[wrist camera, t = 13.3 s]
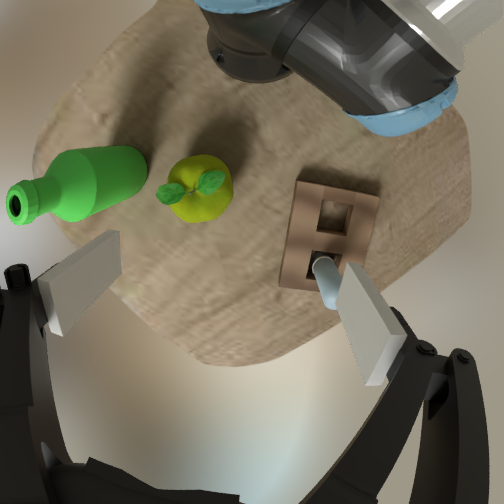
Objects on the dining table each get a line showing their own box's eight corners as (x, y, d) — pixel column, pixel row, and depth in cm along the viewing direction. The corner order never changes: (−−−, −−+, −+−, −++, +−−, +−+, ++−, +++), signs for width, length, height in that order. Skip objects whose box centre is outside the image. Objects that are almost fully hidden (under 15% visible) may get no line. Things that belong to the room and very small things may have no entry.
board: (296, 179, 41) (297, 181, 39) (373, 194, 41) (379, 197, 39) (278, 279, 47) (278, 286, 45) (349, 288, 47) (353, 295, 45)
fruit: (172, 161, 41) (147, 166, 31) (230, 149, 40) (220, 149, 30) (184, 216, 44) (163, 236, 35) (240, 207, 43) (233, 224, 34)
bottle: (119, 205, 44) (16, 263, 20) (97, 164, 41) (-16, 193, 18) (158, 179, 42) (56, 222, 19) (134, 135, 39) (20, 139, 16)
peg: (312, 249, 45) (327, 283, 34) (333, 252, 45) (354, 286, 34) (308, 269, 46) (320, 308, 35) (328, 272, 46) (346, 311, 35)
